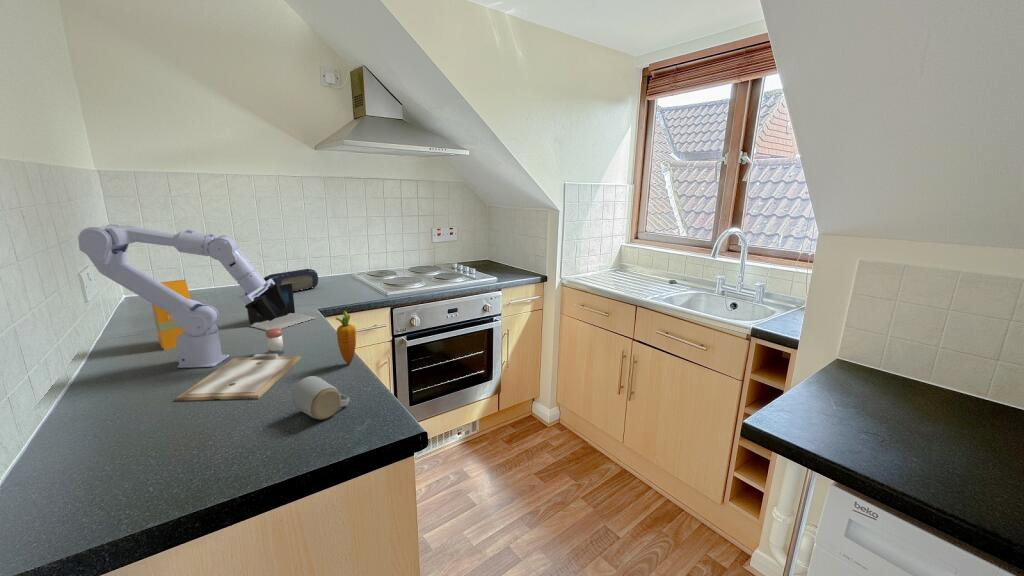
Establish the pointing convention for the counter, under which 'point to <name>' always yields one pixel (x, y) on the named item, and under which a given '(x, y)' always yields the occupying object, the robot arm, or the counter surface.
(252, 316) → the laptop
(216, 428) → the counter surface
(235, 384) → the clipboard
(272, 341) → the marker
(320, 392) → the ceramic mug
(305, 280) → the portable speaker
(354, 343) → the carrot
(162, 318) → the orange juice
